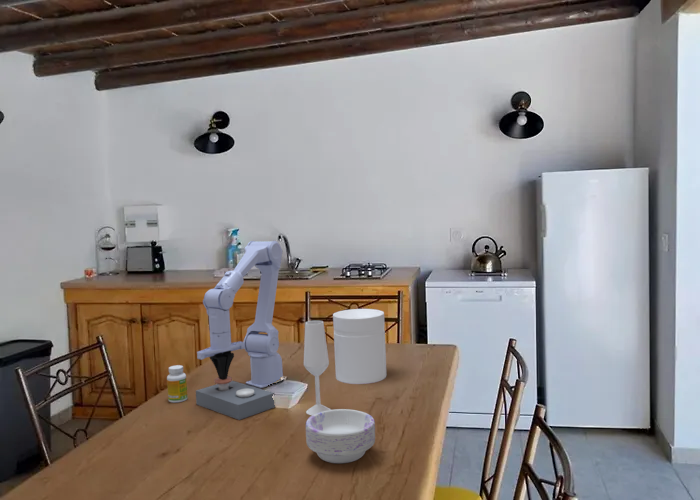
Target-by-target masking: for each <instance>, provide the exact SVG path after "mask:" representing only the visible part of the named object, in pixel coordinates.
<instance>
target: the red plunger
mask: <svg viewBox="0 0 700 500" xmlns="http://www.w3.org/2000/svg"><path fill="white" fill-rule="evenodd" d="M231 381H233V377H232V376H227V379H225V380H222V379H219V376H217V377H215V378H214V384H215V385H216V384H218V385H219V391H225V390H229V383H230V382H231Z"/></svg>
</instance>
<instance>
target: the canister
mask: <svg viewBox="0 0 700 500" xmlns="http://www.w3.org/2000/svg"><path fill="white" fill-rule="evenodd" d="M332 321H333V322H332V323H333V345H334V363H335V365H334V367H335V380H337V381H338V382H341V383H343V384H350V385H365V384H366V385H367V384H373V383H378V382H380V381H381V382H382V381H383V380H385V379H386V378H387V356H386V355H387V354H386V352H387V351H386V350H387V348H386V331H385V323H386V322H385V312H384V310H379V309H375V308H374V309H373V308H355V309H354V308H353V309H344V310H339V311H336V312H334V313H332Z"/></svg>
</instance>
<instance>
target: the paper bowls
mask: <svg viewBox="0 0 700 500" xmlns="http://www.w3.org/2000/svg"><path fill="white" fill-rule="evenodd" d="M305 438H306V440H305V442H306V445H307V447H308V448H309V449H310V450H311V451H312V452H314V453H316V454H317V456H318V458H320V459H321V460H322V461H325V462H327V463H331V464H349V463H352V462H355V461H358V460H359V459H360V458H362V457H363V456H364V455H365V454H366V451H368V450H369V449H370V448H372V447H373V446H374V445H375V442H376V423H375V418H374V417H373V416H372V415H370V414H369V413H367V412H365V411H361V410H356V409H349V408H346V409H345V408H337V409H334V408H333V409H331V410H327V411H323V412H319V413H316V414H314V415H310V416H309V417H308V418H307V420H306V422H305Z"/></svg>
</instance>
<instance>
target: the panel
mask: <svg viewBox="0 0 700 500" xmlns="http://www.w3.org/2000/svg"><path fill="white" fill-rule="evenodd" d="M240 389H253V390H254V395H252V396H250V397H247V398H240V397H238V396H236V391H238V390H240ZM273 394H274V395H275V392H272V391H270V392H269V390H266V391H265V389H264V388H259V387H256V386H253V385H249V384H246V383H242V382H238V381H235V380H232V381H231V382H230V383H229V390H225V391H219V385H218V384H216V383H215V384H213V385H210V386H206V387H203V388H200V389H197V390H195V400H196V401H195V402H196V403H195V404H196V405H197V406H200V407H201V408H204V409H208V410H211V411H212V412H213V411H214V412H216V413H219V414H220V415H225V416H227V417H231V418H232V419H235V420H238V421H240V420H243V419H246V418H248V417H251V416H254V415H255V416H256V415H257V414H259V413H263V412H265V411H268V410H271V409H274V408H275V407H276V404H275V405H274V400H273V398H272V396H273Z"/></svg>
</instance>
